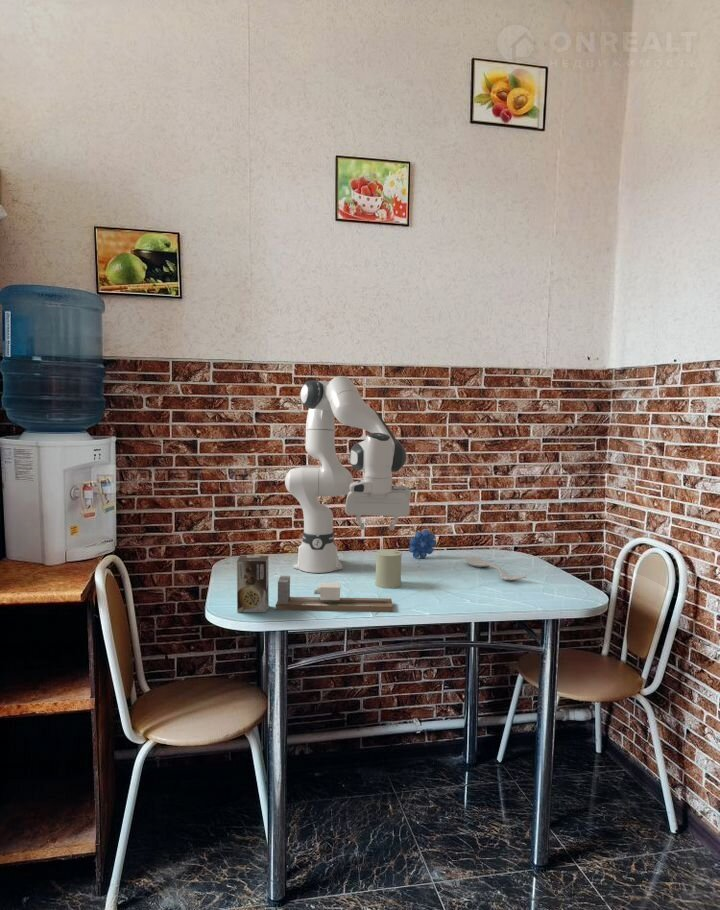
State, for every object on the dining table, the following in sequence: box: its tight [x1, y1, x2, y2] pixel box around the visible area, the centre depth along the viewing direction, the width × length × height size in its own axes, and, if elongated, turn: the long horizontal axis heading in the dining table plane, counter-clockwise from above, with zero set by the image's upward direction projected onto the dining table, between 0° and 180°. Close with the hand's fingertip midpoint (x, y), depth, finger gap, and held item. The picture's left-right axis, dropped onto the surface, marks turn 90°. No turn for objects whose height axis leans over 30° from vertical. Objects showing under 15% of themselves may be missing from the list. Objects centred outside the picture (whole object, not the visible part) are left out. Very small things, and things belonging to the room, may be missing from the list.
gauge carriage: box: [313, 582, 341, 604], centre depth 191 cm, size 7×8×4 cm
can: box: [374, 548, 403, 589], centre depth 216 cm, size 9×9×12 cm
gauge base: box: [275, 575, 394, 613], centre depth 192 cm, size 8×36×8 cm, turn 90°
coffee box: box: [236, 555, 270, 613], centre depth 188 cm, size 9×6×16 cm
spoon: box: [465, 556, 527, 581], centre depth 235 cm, size 9×32×4 cm, turn 20°
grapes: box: [408, 529, 437, 559], centre depth 254 cm, size 12×7×12 cm, turn 97°
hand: (376, 529), depth 192 cm, fingers open, 8 cm apart
